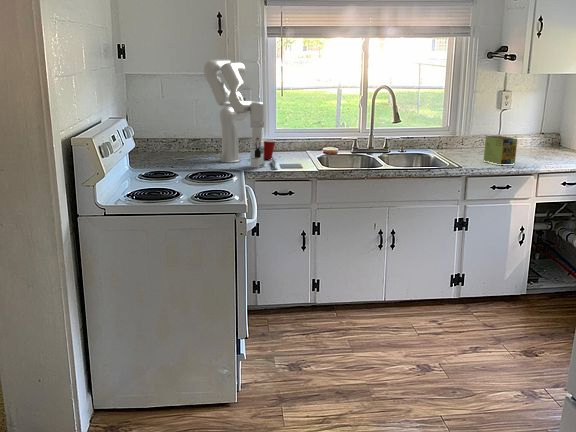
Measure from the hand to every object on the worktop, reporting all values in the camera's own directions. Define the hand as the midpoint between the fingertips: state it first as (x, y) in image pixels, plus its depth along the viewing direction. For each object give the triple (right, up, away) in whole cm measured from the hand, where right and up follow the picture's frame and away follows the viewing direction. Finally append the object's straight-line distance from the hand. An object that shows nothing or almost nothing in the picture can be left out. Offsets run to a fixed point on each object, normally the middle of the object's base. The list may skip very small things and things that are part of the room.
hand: (257, 156), depth 334 cm
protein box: (+141, -3, +18) cm, 142 cm away
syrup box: (0, -6, +2) cm, 6 cm away
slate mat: (+19, -5, +3) cm, 20 cm away
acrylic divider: (+9, -6, +2) cm, 11 cm away
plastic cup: (+5, +1, +26) cm, 27 cm away
